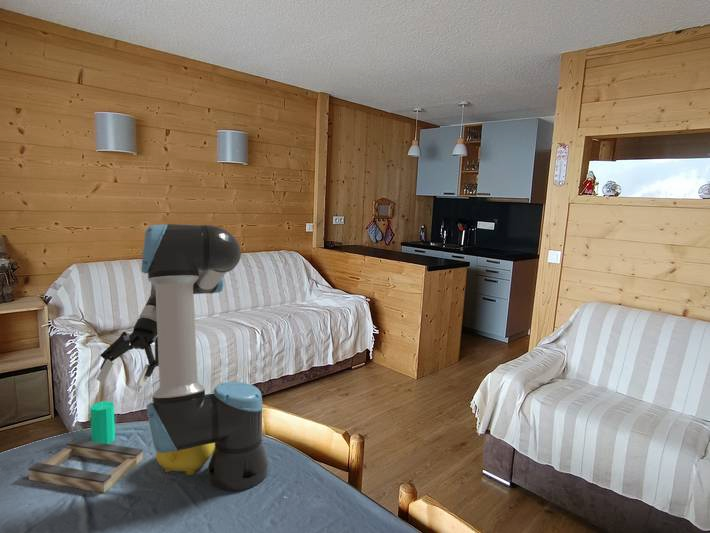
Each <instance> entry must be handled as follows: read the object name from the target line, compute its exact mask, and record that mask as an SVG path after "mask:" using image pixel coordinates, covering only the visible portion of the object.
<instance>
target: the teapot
mask: <svg viewBox="0 0 710 533" xmlns="http://www.w3.org/2000/svg"><path fill="white" fill-rule="evenodd" d="M214 448H215V443H211V444H206V445H201V446H197V447H192V448H187V449H183V450H178V451H177V452H176V451H172V452H166V453H159V452H157V451H156V454H155V455H156V456H155V458H156V461H157V463H158V464H159V465H160V467H162V468H163V469H164V472H166V473H170V472H172V471H174V472H185V474H186V475H188V476H193V475H195V474H196V473H197V470H198V469H199V468H202V467H203V466H204V464H206V462H207V461H208V460H210V458H211V457H212V454H213V451H214Z"/></svg>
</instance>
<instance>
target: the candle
mask: <svg viewBox="0 0 710 533" xmlns="http://www.w3.org/2000/svg"><path fill="white" fill-rule="evenodd" d="M89 409H90V411H89V412H90V414H89V415H90V428H91V430H90V433H91V434H90V435H91V442H98V443H104V444H110V443H112V442H114V440H115V439H116V422H115V404H114V402H113V401H107V400H101V401H99V402H96V403H94V404H92V405H91V406H90V407H89Z"/></svg>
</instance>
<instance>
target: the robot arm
mask: <svg viewBox="0 0 710 533" xmlns="http://www.w3.org/2000/svg"><path fill="white" fill-rule="evenodd" d="M241 256H242V249H241V245H240V243H239V241H238V239H237V238H236V237H235V236H234V234H232V233H230V232H229V231H228V230H225V228H222V227H219V226H217V225H216V226H215V225H212V224H211V225H210V224H205V225H203V224H202V225H201V224H170V223H164V224H156V225H155V224H153V225H149V226H148V227H147V228H146V230H145V233H144V241H143V249H142V258H141V268H140V269H141V271H140V272H141V273H143V274H147V277H148V278H147V279H148V282H150V284H151V285H150V286H151V287H150V295H149V297H148V300H147V301H146V304H145V306H144V307H143V308H142V311H141V313H140V314H139V315H138V316H139V318H138V319H137V321H136V322H135V324H134V325H133V331H132V332H131V333H127V332H126V331H123V332H121V334H120V336H119V337H118V338H117V339H115V341H114V342H112V343H111V344H110V345H109V346H108V347H107V348H106V349H105V350H104V351H103V352H102V353H101V354H100V357H101V358H102V359H104V360H103V361H102V364H101V365H100V371H99V373H98V375H97V377H96V381H98V382H100V383H101V384H104V383H105V381H106V378H107V377H108V376H109V373H110V371H111V369H112V367H113V365H114V362H113V361H116V359H118V358H120V357H121V356H122V355H124V354H125V353H127V352H128V351H131V350H134V349H135V350H136V349H137V350H138V349H140V350H144V352H145V356H146V359H147V361H148V362H147V363H145V364H144V367H143V369H142V372H141V373H140V376H139V377H138V380H137V381H136V385H137V386H138V387H139V388H140V389H141V388H142V389H144V386H145V385H146V382H147V380H148V379H149V378H151V376H152V375H153V372H154V370H155V369H156V367H158V375H159V376H158V381H159V382H158V383H159V387H158V388H157V390H156V391H155V392H154V393H153V394H152V402H149V403H148V404H147V405H146V410H147V416H148V417H147V418H148V423H149V429H150V432H151V438H152V443H153V447H154V450H155V451H156V453H157V452H159V453H166V452H172V451H176V452H177V451H178V450H183V449H187V448H192V447H197V446H201V445H206V444H211V443H214V444H215V447H214V450H213V452H212V454H211V456H210V459H209V460H210V461H209V464H208V466H207V467H208V468H207V479H208V482H209V483H210V484H211V485H212V487H215V488H217V489H218V490H223V491H229V492H230V491H231V492H235V491H236V492H237V491H244V490H247V489H251V488H253V487H254V486H256V485H258V484H260V483H262V482H263V481H264V480H265V479H266V477H267V476H268V473H269V459H268V456H267V453H266V451H265V448H264V445H263V440H262V439H263V438H262V437H263V409H264V406H263V405H264V404H263V397H262V396H263V395H262V391H261V390H260V389H259V388H258V387H256V386H255V385H253V384H251V383H247V382H242V381H227V382H221V384H217V385H216V386H215V387H214V390H213V393H208V394H206V390H205V387H204V386H203V385H202V384H201V383H199V380H198V364H197V363H198V362H197V361H198V360H197V343H196V340H197V339H196V321H195V303H194V302H195V301H194V298H195V297H194V295H202V294H203V295H204V294H205V295H206V294H211V295H212V294H216V293H217V294H218V293H222V292H223V289H224V276H225V275H226V273H228V272H231V271H233V270H234V269H235V268H236V266H238V264H239V263H240V259H241ZM152 344H154V354H153V348H152V346H151V345H152Z"/></svg>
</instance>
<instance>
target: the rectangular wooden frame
mask: <svg viewBox="0 0 710 533" xmlns="http://www.w3.org/2000/svg"><path fill="white" fill-rule="evenodd" d="M143 450H144V449H142V448H135V447H129V446H121V445H116V444H110V443H108V444H104V443H98V442H92V440H91V441H89V440H84V439H77V438H73V439H72V440H70V441H69V442H67V443H66V447H65V448H64V449H62V450H60V451H59V452H57V453H56V454H54V455H53V456H51V457H49V458H48V459H47V460H45V461H43V462H36V463H34V464H33V465H31V466H29V467H28V469H27V470H28V471H27V472H28V480H30V481H34V482H35V481H36V482H41V483H48V484H52V485H57V486H63V487H70V488H76V489H80V490H87V491H91V492H97V493H103V494H104V493H106V492H107V491H108V490H109V489H110V488H112V487H113V486H114V485H116V483H117V482H119V481H120V480H121V479H122V478H124V477H125V476H126V475H127V474H128V473H130V472H131V471H132V470H133V469H134V468H135V467H136V466H137V465H139V464H140V463H141V462H142V461H143V460H144V458H143V456H144V455H143V452H144V451H143ZM73 456H78V457H85V458H91V459H97V460H102V461H108V462H116V463H120V464H119V465H118V466H117V467H115V468H114V469H113V470H112V471H110V472H109V473H102V472H97V471H96V472H95V471H91V470H83V469H79V468H72V467H67V466H60V465H61V464H62V463H64V462H66V461H67V460H68V459H70V458H71V457H73Z"/></svg>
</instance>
